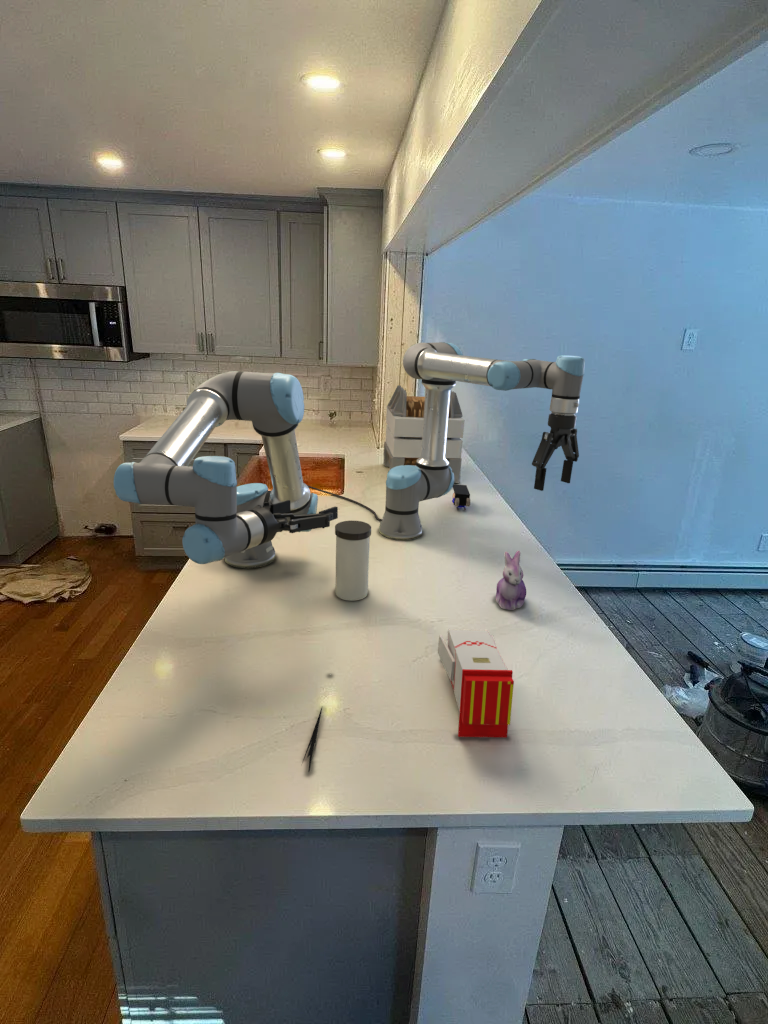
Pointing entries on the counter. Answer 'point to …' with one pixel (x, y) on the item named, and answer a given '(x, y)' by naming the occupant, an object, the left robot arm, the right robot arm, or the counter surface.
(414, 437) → the light grey slatted crate
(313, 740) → the feather
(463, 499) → the figurine character
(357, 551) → the jar
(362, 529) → the lid
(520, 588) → the figurine
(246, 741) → the counter surface
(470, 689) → the toy
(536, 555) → the counter surface
